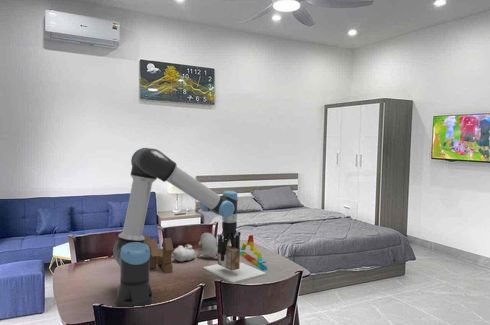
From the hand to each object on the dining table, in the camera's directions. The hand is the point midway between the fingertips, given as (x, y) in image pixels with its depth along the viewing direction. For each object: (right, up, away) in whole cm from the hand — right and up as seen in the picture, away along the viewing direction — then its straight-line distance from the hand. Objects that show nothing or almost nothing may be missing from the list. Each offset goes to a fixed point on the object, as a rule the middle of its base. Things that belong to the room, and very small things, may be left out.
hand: (228, 265), depth 190 cm
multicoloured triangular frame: (+13, -4, +22) cm, 26 cm away
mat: (+3, -4, +4) cm, 7 cm away
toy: (-10, -3, +24) cm, 27 cm away
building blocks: (-41, -3, +2) cm, 41 cm away
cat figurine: (-27, -3, +20) cm, 33 cm away
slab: (0, 0, 0) cm, 0 cm away
